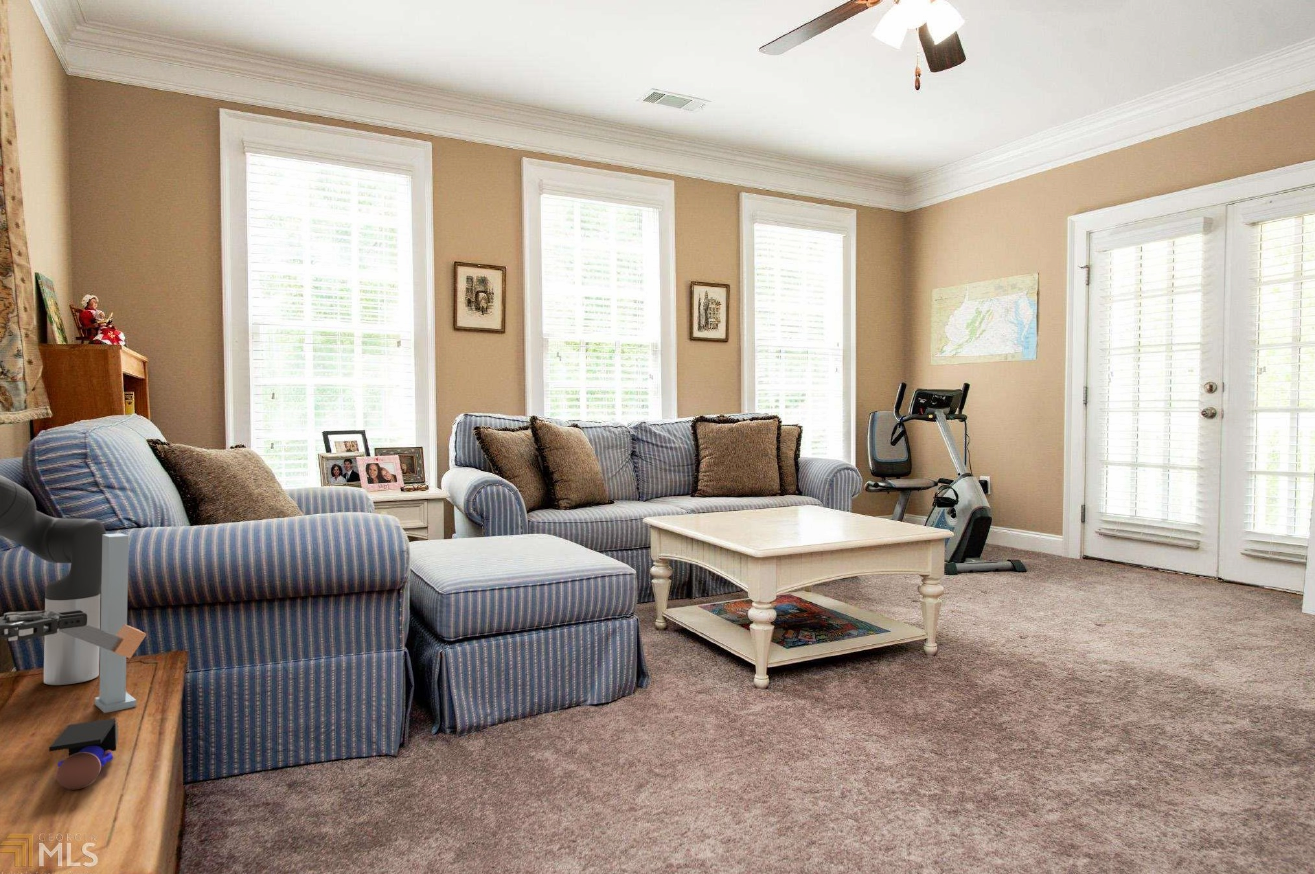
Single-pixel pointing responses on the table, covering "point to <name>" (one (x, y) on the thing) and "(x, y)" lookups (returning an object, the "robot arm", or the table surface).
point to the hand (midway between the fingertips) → (84, 617)
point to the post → (113, 623)
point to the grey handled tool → (106, 637)
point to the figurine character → (85, 751)
